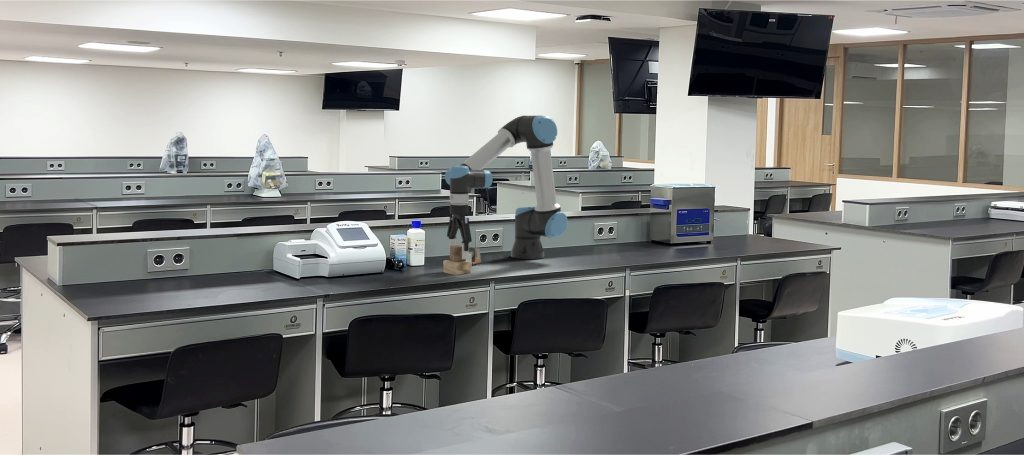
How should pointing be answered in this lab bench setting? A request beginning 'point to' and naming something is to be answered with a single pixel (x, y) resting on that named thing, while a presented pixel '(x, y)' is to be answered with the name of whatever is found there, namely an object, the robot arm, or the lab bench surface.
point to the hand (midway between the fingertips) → (458, 256)
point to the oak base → (456, 267)
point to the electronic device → (475, 255)
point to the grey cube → (470, 259)
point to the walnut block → (456, 253)
